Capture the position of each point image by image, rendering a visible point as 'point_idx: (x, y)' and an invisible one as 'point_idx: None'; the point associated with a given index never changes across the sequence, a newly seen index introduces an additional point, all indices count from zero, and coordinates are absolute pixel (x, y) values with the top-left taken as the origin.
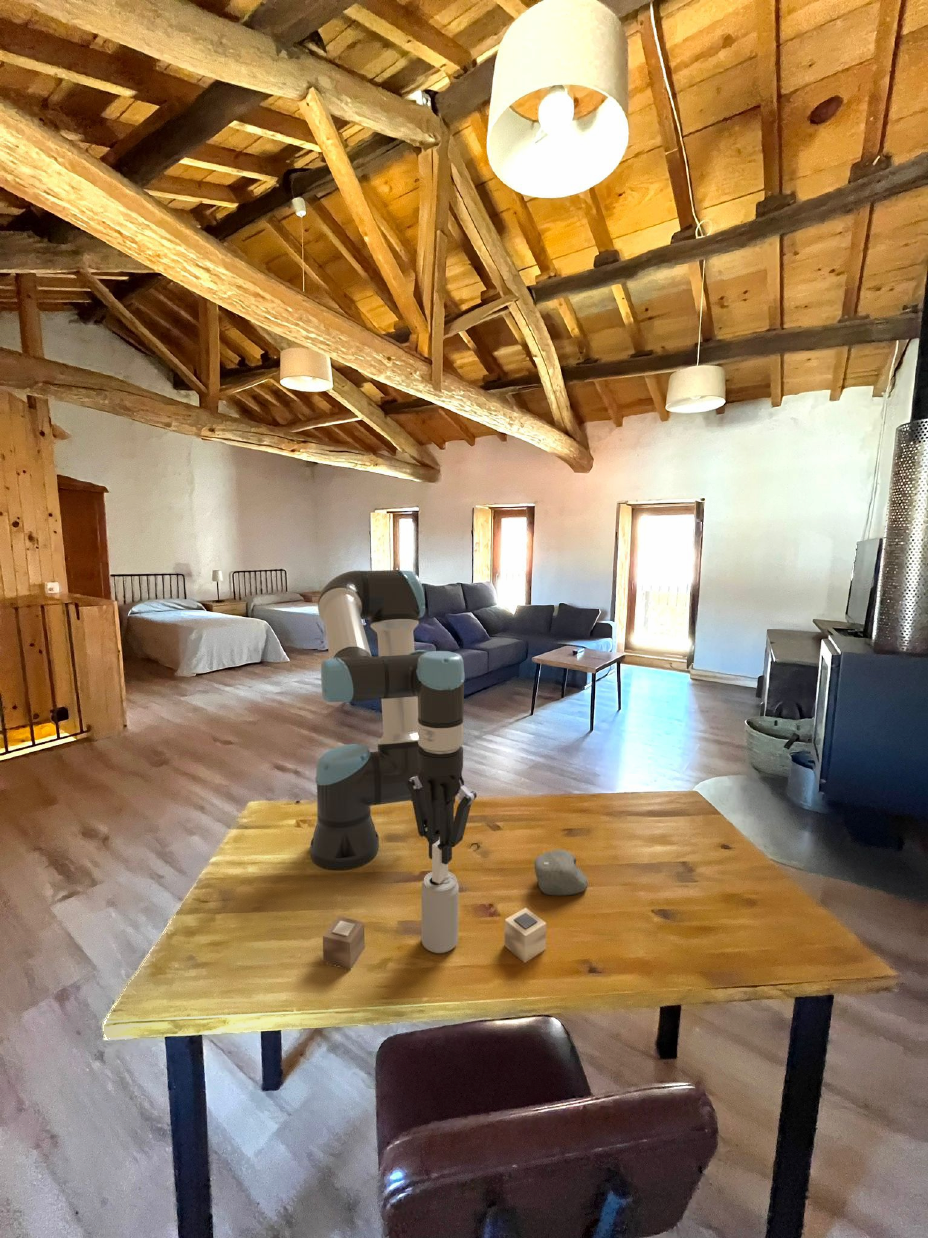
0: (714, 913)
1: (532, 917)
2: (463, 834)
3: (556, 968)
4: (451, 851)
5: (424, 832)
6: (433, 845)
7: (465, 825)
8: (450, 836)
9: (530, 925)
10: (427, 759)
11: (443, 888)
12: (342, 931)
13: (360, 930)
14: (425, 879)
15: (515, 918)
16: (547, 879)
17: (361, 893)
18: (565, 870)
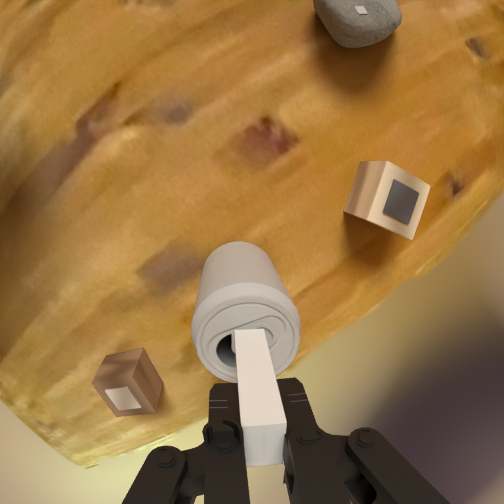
0: (499, 38)
1: (407, 183)
2: (396, 452)
3: (423, 212)
4: (310, 408)
5: (195, 497)
6: (250, 466)
7: (427, 486)
8: (351, 501)
9: (413, 210)
10: None
11: (278, 365)
12: (128, 404)
13: (140, 384)
14: (207, 363)
15: (385, 208)
16: (369, 41)
17: (40, 252)
18: (398, 20)
